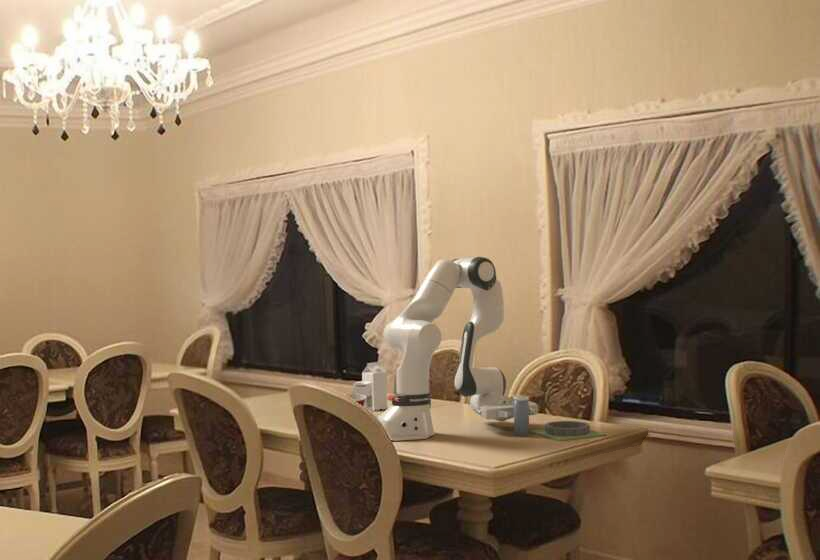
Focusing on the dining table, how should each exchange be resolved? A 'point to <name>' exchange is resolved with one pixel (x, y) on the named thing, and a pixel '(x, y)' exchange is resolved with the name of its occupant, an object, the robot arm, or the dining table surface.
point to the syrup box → (364, 392)
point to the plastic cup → (358, 398)
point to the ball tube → (521, 415)
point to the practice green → (567, 430)
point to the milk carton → (376, 384)
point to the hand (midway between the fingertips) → (520, 413)
